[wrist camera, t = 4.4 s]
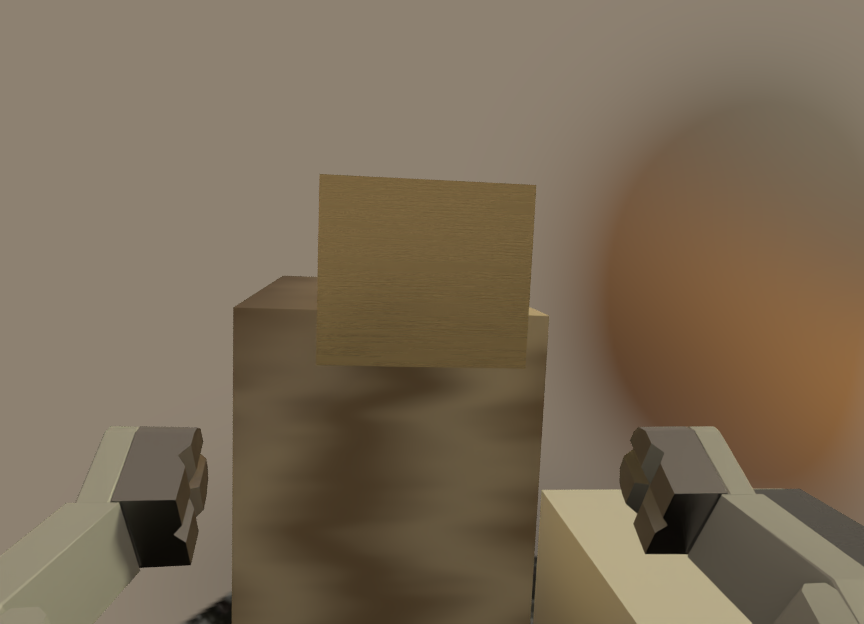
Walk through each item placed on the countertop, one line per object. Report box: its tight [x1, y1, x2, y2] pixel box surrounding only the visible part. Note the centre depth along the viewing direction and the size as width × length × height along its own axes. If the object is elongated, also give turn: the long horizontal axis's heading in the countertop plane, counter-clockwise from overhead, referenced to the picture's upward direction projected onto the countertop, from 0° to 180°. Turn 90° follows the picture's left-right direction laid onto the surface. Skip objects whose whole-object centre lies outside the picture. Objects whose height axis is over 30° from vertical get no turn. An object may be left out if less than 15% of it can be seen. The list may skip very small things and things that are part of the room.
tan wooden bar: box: [316, 174, 536, 369], centre depth 23 cm, size 4×22×4 cm, turn 7°
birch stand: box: [232, 276, 549, 624], centre depth 29 cm, size 10×14×26 cm
